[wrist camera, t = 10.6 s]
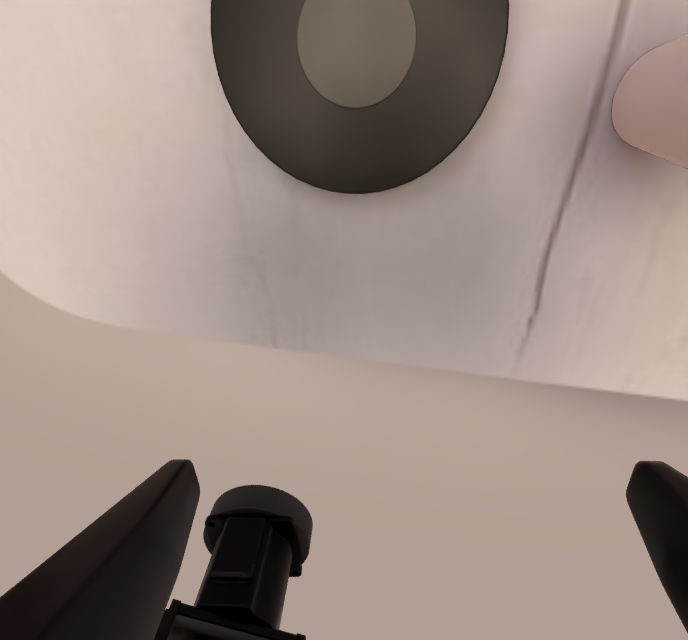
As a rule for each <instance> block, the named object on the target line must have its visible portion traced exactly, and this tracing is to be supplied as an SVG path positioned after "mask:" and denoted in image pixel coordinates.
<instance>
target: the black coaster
mask: <svg viewBox="0 0 688 640" xmlns="http://www.w3.org/2000/svg"><path fill="white" fill-rule="evenodd" d="M508 17H509V0H211V36H212V45H213V54H214V58H215V63H216V67H217V72H218V76H219V79H220V82H221V85H222V87H223V90H224V93H225V96H226V98H227V100H228V103H229V105H230V107H231V109H232V111H233V113H234V115H235V117H236V118H237V120H238V122H239V123H240V125H241V127H242V128H243V130H244V131H245V133H246V134H247V135H248V137H249V138H250V139H251V140H252V142H253V143H254V144H255V146H256V147H257V148H258V149H259V150H260V151H261V152H262V153H263V154H264V155H265V156H266V157H267V158H268V159H269V160H270V161H272V162H273V163H274V164H275V165H277V166H278V167H279V168H281V169H282V170H283V171H285V172H286V173H288V174H290V175H291V176H293V177H295V178H296V179H298V180H300V181H302V182H305V183H307V184H309V185H311V186H314V187H317V188H321V189H324V190H328V191H333V192H339V193H345V194H365V193H373V192H380V191H384V190H388V189H392V188H396V187H398V186H401V185H403V184H406V183H408V182H411V181H413V180H414V179H416V178H418V177H420V176H422V175H423V174H425V173H427V172H428V171H430V170H431V169H433V168H434V167H435V166H437V165H438V164H439V163H441V162H442V161H443V160H444V159H445V158H446V157H447V156H448V155H450V154H451V153H452V152H453V151H454V150H455V149H456V148H457V147H458V146H459V144H460V143H461V142H462V141H463V140H464V138H465V137H466V136H467V135H468V134H469V132H470V131H471V129H472V128H473V126H474V125H475V123H476V122H477V120H478V119H479V117H480V116H481V114H482V112H483V110H484V108H485V106H486V104H487V102H488V100H489V98H490V96H491V94H492V91H493V89H494V86H495V83H496V81H497V78H498V75H499V72H500V68H501V64H502V61H503V57H504V52H505V46H506V40H507V33H508Z"/></svg>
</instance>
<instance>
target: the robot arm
mask: <svg viewBox="0 0 688 640" xmlns="http://www.w3.org/2000/svg"><path fill="white" fill-rule="evenodd" d="M199 496H200V487H199V483H198V479H197V476H196V473H195V469H194V466H193V464H192V462H191V461H190V460H171V461H169V462H167V463H166V464H165V465H164V466H162V467H161V468H160V469H159V470H158V471H156V472H155V473H154V474H152V475H151V476H150V477H149V478H147V479H146V480H145V481H144V482H143V483H141V484H140V485H139V486H138V487H136V488H135V489H134V490H133V491H132V492H130V493H129V494H128V495H126V496H125V497H124V498H123V499H121V500H120V501H119V502H118V503H117V504H115V505H114V506H113V507H112V508H110V509H109V510H108V511H107V512H105V513H104V514H103V515H102V516H100V517H99V518H98V519H97V520H95V521H94V522H93V523H92V524H90V525H89V526H88V527H87V528H86V529H84V530H83V531H82V532H81V533H80V534H78V535H77V536H76V537H74V538H73V539H72V540H71V541H69V542H68V543H67V544H66V545H64V546H63V547H62V548H61V549H60V550H58V551H57V552H56V553H55V554H53V555H52V556H51V557H50V558H48V559H47V560H46V561H45V562H44V563H42V564H41V565H40V566H39V567H37V568H36V569H35V570H34V571H32V572H31V573H30V574H29V575H27V576H26V577H25V578H24V579H22V580H21V581H20V582H19V583H17V584H16V585H15V586H14V587H12V588H11V589H10V590H9V591H7V592H6V593H5V594H4V595H3V596H1V597H0V640H306V636H305V635H301V634H297V635H295V634H291V633H288V632H284V631H281V630H279V627H280V622H281V616H282V611H283V605H284V600H285V594H286V589H287V582H288V578H289V577H299V576H301V574H302V563H301V557H300V551H299V545H298V539H297V533H296V527H295V521H294V519H293V518H292V517H290V516H266V515H209V516H207V518H206V520H205V527H206V530H207V533H208V536H209V539H210V543H211V546H212V549H213V553H212V556H211V559H210V562H209V565H208V567H207V570H206V573H205V576H204V579H203V581H202V584H201V587H200V589H199V593H198V595H197V598H196V601H195V603H194V606H190V605H187V604H183V603H181V601H179V600H175V599H173V601H172V603H171V605H170V608H169V609H166V610H165V608H166V606H167V603H168V600H169V598H170V595H171V592H172V590H173V587H174V584H175V581H176V579H177V576H178V573H179V570H180V567H181V563H182V560H183V556H184V553H185V549H186V545H187V541H188V538H189V534H190V530H191V527H192V523H193V519H194V516H195V512H196V508H197V504H198V501H199ZM626 498H627V502H628V504H629V507H630V509H631V512H632V514H633V517H634V519H635V521H636V524H637V526H638V529H639V531H640V533H641V536H642V538H643V540H644V543H645V545H646V548H647V550H648V553H649V555H650V557H651V560H652V562H653V565H654V567H655V570H656V572H657V574H658V576H659V578H660V581H661V583H662V585H663V587H664V589H665V591H666V593H667V595H668V597H669V598H670V600H671V603H672V604H673V606H674V608H675V610H676V612H677V614H678V616H679V618H680V619H681V621H682V623H683V625H684V627H685V629H686V631H687V633H688V477H687V476H685V475H683V474H682V473H680V472H679V471H677V470H675V469H674V468H672V467H671V466H669V465H667V464H666V463H664V462H661V461H640V462H638V463H637V464H636V465H635V467H634V470H633V472H632V475H631V478H630V481H629V484H628V487H627V490H626Z"/></svg>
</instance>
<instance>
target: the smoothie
mask: <svg viewBox="0 0 688 640" xmlns="http://www.w3.org/2000/svg"><path fill="white" fill-rule="evenodd" d="M612 120H613V124H614V127H615V130H616V131H617V133H618V135H619V136H620V137H621V138H622V139H623V140H624V141H625V142H626V143H628V144H630V145H632V146H634V147H637V148H639V149H641V150H644V151H646V152H649V153H651V154H653V155H656V156H658V157H661V158H663V159H665V160H668V161H670V162H672V163H675V164H677V165H680V166H682V167H684V168H687V169H688V34H686V35H683V36H681V37H679V38H676V39H674V40H672V41H670V42H667V43H665V44H663V45H660V46H658V47H656V48H654V49H652V50H650V51H649V52H647V53H646V54H644V55H643V56H642V57H640V58H639V59H638V60H637V61H636V62H635V63H634V64H633V65H632V66H631V67H630V68H629V69H628V71H627V72H626V73H625V75H624V76H623V78H622V80H621V81H620V83H619V85H618V87H617V90H616V92H615V95H614V99H613V104H612Z"/></svg>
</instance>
